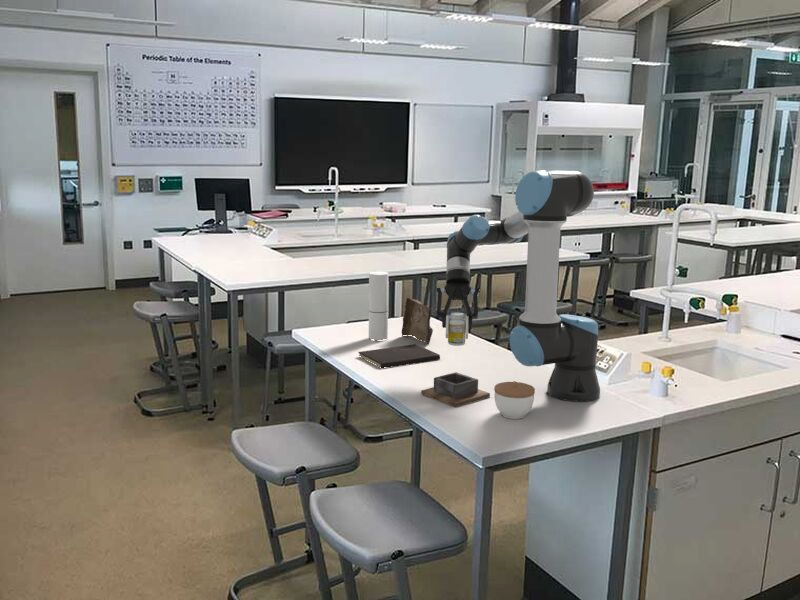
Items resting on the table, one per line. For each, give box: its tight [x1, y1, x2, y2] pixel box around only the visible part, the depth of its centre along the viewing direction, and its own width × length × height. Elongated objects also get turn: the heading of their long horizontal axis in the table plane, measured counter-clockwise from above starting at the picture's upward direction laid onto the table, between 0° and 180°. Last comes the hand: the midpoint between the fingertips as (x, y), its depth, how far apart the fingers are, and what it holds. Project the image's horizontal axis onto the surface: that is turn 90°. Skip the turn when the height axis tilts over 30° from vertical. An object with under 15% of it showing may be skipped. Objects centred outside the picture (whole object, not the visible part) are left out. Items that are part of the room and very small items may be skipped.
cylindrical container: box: [368, 271, 389, 340], centre depth 275 cm, size 7×7×25 cm
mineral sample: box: [401, 297, 434, 346], centre depth 275 cm, size 17×4×15 cm, turn 33°
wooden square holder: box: [420, 371, 491, 408], centre depth 214 cm, size 14×14×5 cm
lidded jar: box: [493, 380, 536, 420], centre depth 198 cm, size 11×11×9 cm
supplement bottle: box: [447, 311, 466, 347], centre depth 228 cm, size 5×5×10 cm
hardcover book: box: [358, 343, 441, 369], centre depth 252 cm, size 16×23×2 cm
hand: (456, 336), depth 225 cm, fingers closed on supplement bottle, 5 cm apart
